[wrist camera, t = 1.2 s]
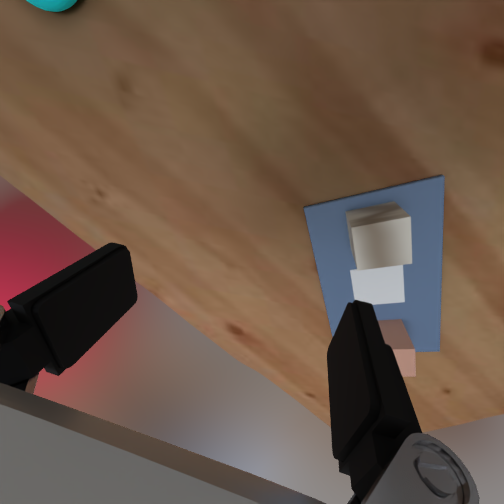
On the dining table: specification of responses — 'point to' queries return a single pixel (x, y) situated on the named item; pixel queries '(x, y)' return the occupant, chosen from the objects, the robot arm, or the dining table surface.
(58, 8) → the donuts
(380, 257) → the cream block
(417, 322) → the board
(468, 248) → the dining table surface
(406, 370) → the terracotta block
